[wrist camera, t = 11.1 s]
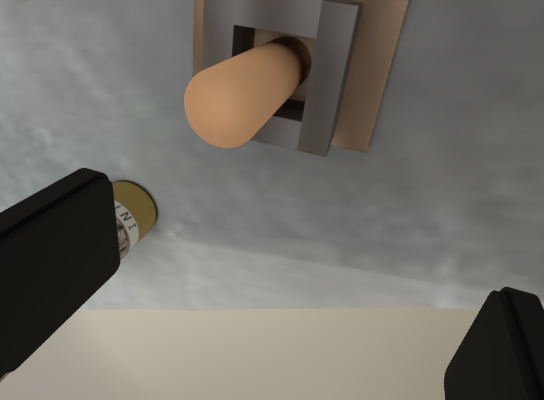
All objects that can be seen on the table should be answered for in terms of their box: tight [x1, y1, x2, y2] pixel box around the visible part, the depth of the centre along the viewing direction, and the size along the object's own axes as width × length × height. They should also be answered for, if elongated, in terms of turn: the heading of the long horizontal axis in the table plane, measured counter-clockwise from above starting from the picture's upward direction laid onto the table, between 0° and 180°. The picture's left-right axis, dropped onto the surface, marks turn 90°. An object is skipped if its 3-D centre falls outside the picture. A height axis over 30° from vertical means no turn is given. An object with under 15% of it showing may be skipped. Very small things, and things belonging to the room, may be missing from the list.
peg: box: [184, 36, 311, 148], centre depth 25 cm, size 4×4×14 cm
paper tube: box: [0, 182, 156, 382], centre depth 34 cm, size 7×7×25 cm
